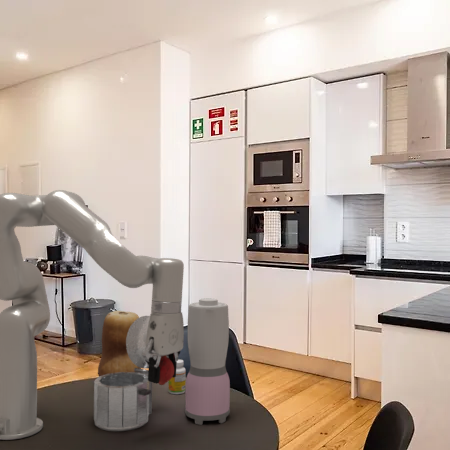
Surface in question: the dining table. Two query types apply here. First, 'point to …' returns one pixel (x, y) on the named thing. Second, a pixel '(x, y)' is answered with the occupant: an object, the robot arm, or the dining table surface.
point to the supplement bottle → (178, 379)
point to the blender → (208, 361)
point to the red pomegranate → (165, 370)
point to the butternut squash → (116, 343)
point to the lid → (138, 343)
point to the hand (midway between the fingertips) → (162, 378)
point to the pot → (122, 401)
